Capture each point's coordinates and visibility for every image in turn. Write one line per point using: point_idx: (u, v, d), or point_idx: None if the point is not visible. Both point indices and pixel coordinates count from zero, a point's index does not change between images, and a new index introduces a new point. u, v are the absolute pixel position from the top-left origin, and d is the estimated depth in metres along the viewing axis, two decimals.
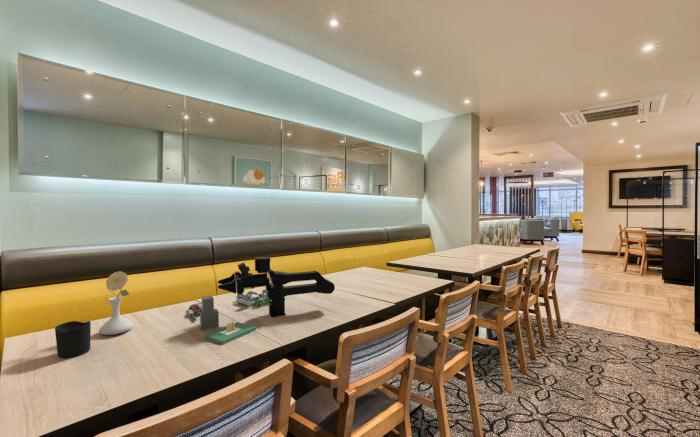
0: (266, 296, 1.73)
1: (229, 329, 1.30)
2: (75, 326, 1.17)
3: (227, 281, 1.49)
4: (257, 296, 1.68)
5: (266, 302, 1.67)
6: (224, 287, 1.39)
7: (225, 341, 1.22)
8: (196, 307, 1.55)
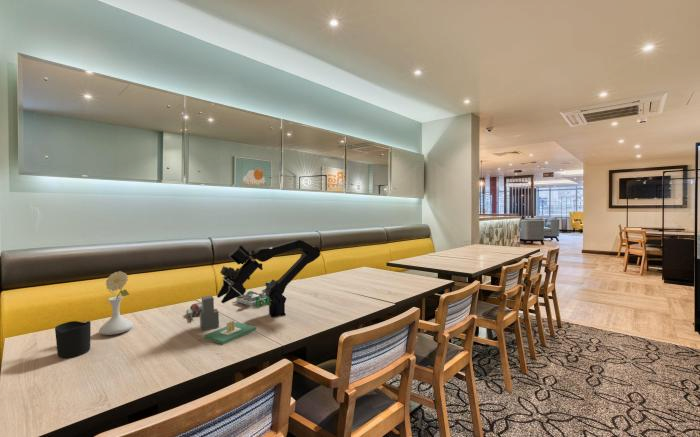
0: (266, 296, 1.73)
1: (229, 329, 1.30)
2: (75, 326, 1.17)
3: (224, 290, 1.45)
4: (257, 296, 1.69)
5: (267, 302, 1.68)
6: (227, 298, 1.36)
7: (225, 341, 1.22)
8: (196, 307, 1.56)
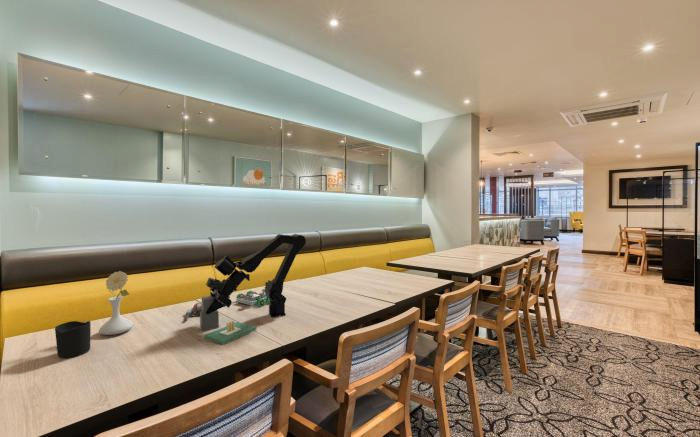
0: None
1: (229, 329, 1.30)
2: (75, 326, 1.17)
3: None
4: (258, 295, 1.69)
5: (267, 301, 1.69)
6: (211, 309, 1.35)
7: (225, 341, 1.22)
8: (196, 306, 1.56)
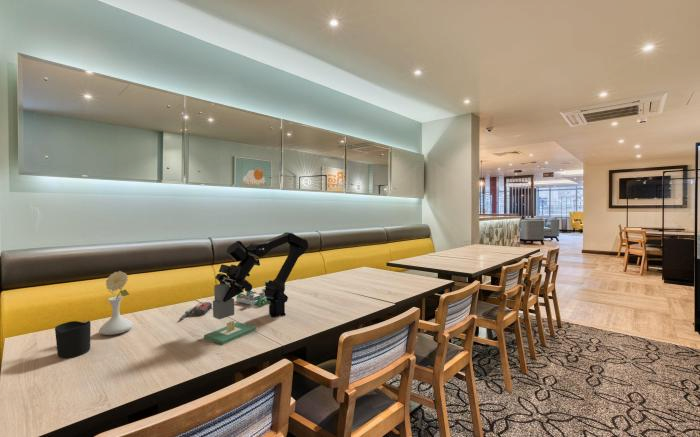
0: None
1: (229, 329, 1.30)
2: (75, 326, 1.17)
3: None
4: (259, 295, 1.70)
5: (268, 301, 1.69)
6: (229, 296, 1.30)
7: (225, 341, 1.22)
8: None
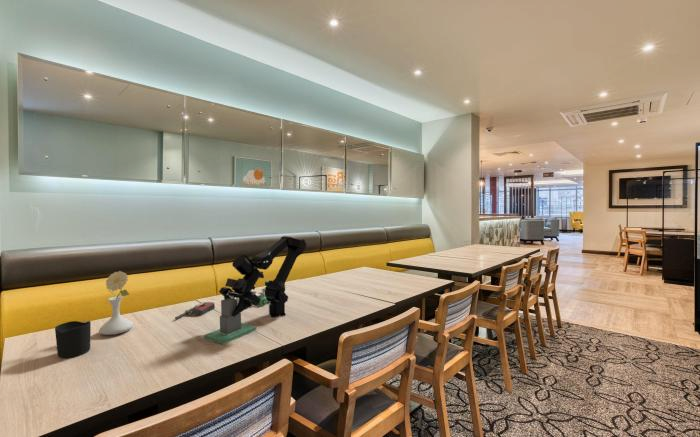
0: None
1: None
2: (75, 326, 1.17)
3: None
4: (259, 295, 1.71)
5: None
6: (238, 311, 1.29)
7: (225, 341, 1.22)
8: None
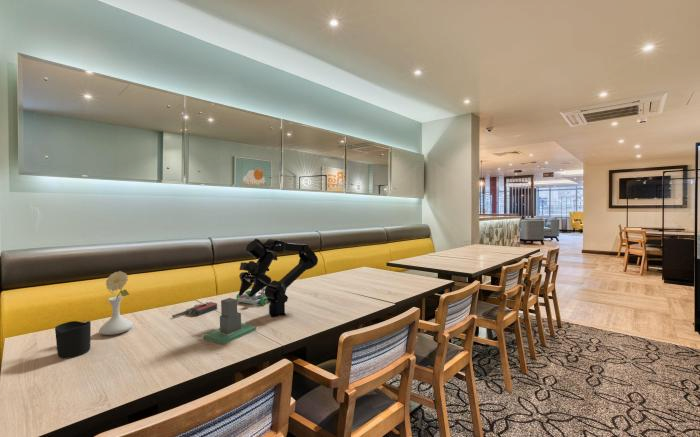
0: None
1: None
2: (75, 326, 1.17)
3: (244, 287, 1.44)
4: (260, 294, 1.71)
5: None
6: (254, 291, 1.36)
7: (225, 341, 1.22)
8: None
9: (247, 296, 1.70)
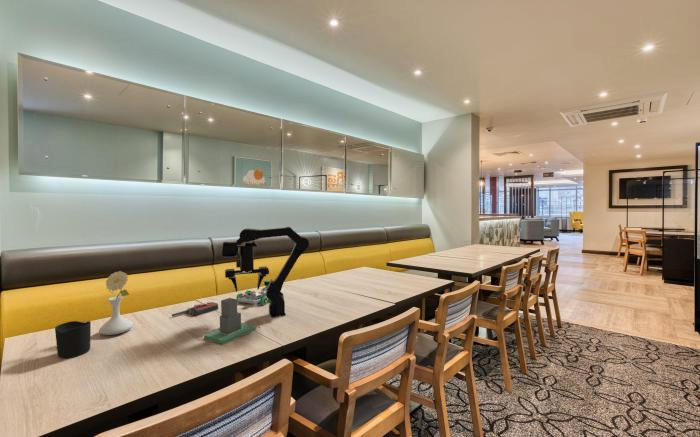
0: None
1: None
2: (75, 326, 1.17)
3: (258, 281, 1.51)
4: (260, 294, 1.72)
5: (269, 299, 1.72)
6: (234, 286, 1.47)
7: (225, 341, 1.22)
8: (201, 305, 1.58)
9: (247, 296, 1.70)
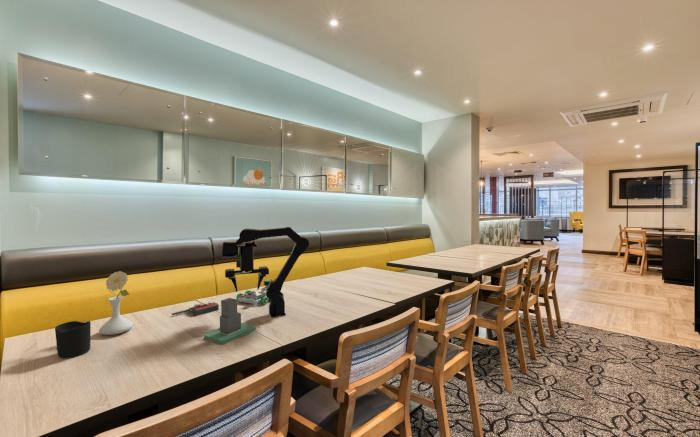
0: None
1: None
2: (75, 326, 1.17)
3: (258, 281, 1.51)
4: (260, 294, 1.72)
5: None
6: (234, 286, 1.47)
7: (225, 341, 1.22)
8: (201, 305, 1.58)
9: (247, 296, 1.70)
